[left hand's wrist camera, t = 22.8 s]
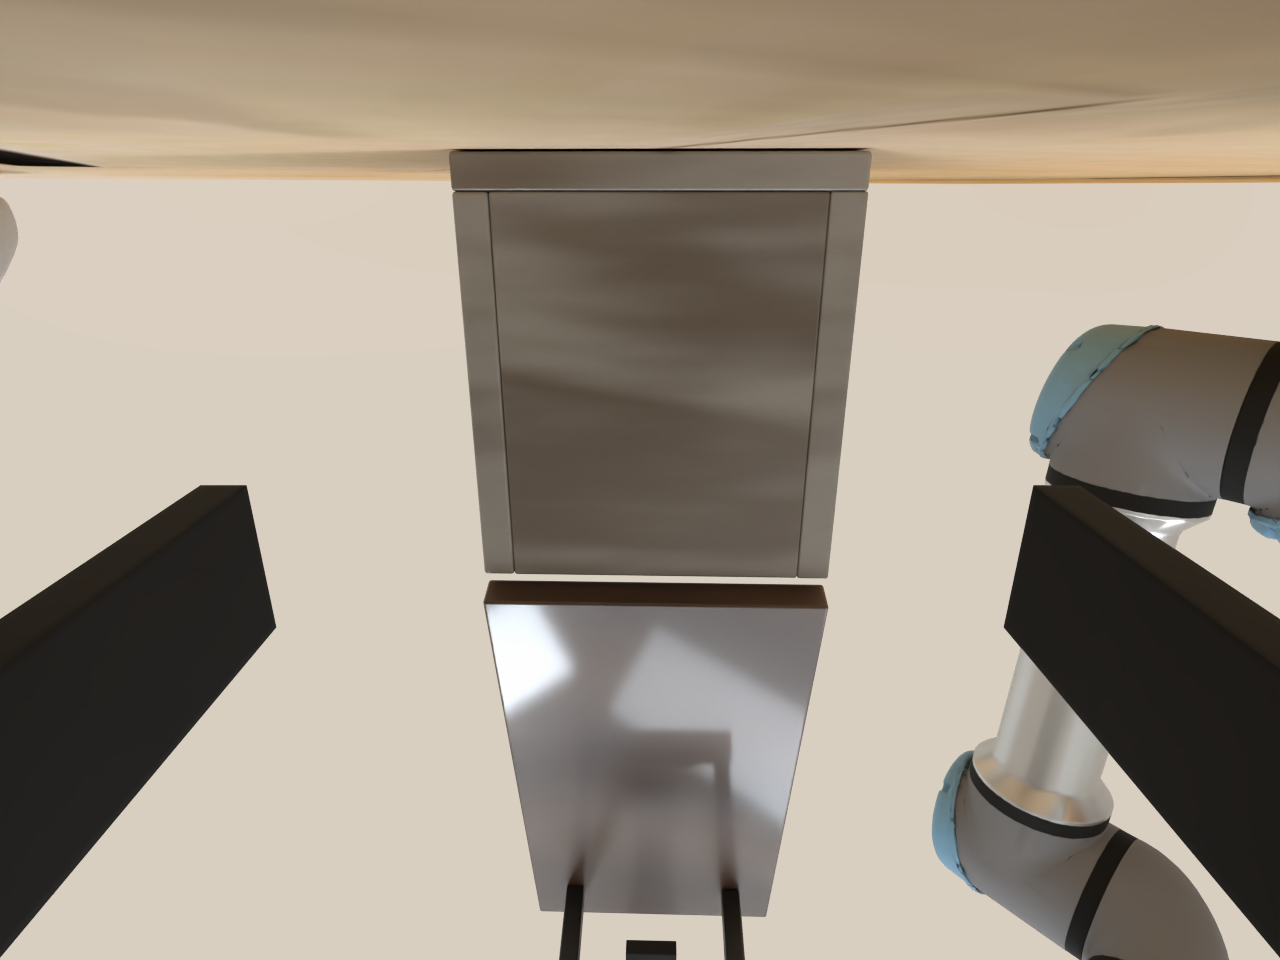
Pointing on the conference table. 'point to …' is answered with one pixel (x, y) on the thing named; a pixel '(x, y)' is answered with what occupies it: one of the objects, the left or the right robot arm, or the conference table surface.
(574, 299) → the chest
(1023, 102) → the conference table surface
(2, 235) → the projector
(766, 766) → the lid
